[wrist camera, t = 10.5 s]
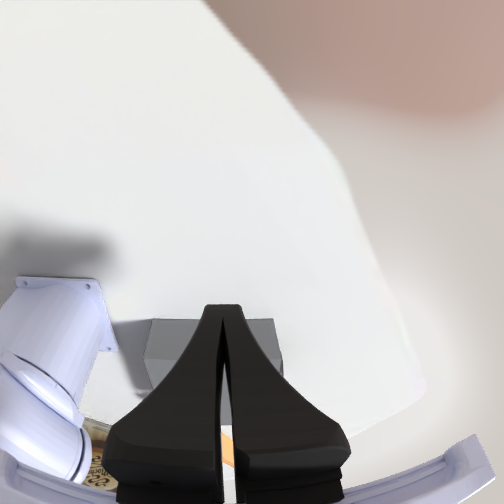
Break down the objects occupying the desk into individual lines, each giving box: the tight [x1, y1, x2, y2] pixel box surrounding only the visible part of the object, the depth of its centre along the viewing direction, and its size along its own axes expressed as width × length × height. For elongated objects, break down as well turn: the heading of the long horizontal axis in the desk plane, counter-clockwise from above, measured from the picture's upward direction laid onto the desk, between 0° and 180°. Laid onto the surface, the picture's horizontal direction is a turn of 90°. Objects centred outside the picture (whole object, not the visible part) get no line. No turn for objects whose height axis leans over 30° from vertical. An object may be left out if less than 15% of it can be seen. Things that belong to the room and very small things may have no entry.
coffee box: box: [81, 417, 118, 493], centre depth 26 cm, size 9×6×16 cm
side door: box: [221, 433, 234, 468], centre depth 30 cm, size 16×1×4 cm, turn 24°
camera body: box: [143, 319, 283, 425], centre depth 24 cm, size 11×10×5 cm
